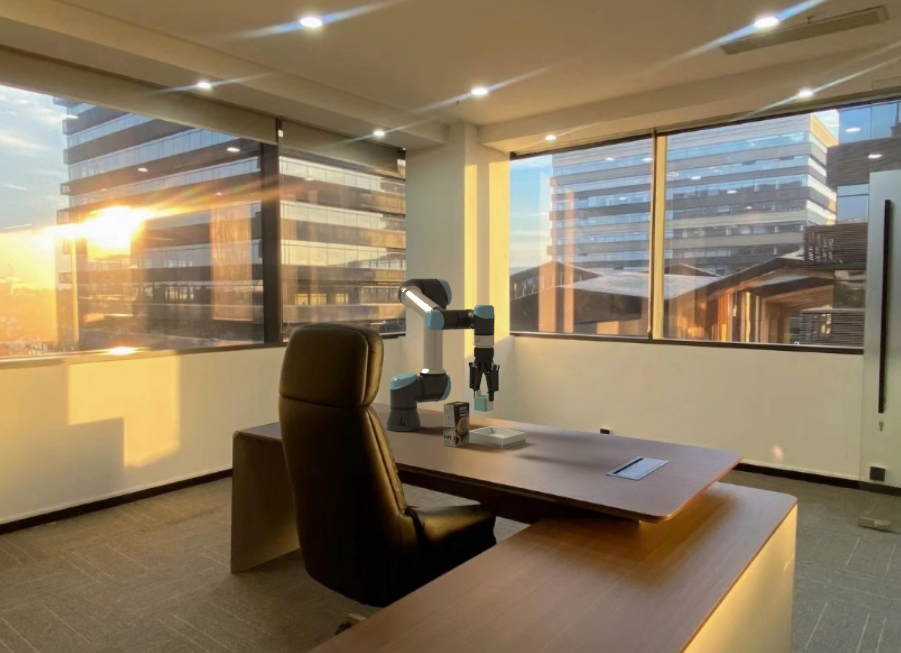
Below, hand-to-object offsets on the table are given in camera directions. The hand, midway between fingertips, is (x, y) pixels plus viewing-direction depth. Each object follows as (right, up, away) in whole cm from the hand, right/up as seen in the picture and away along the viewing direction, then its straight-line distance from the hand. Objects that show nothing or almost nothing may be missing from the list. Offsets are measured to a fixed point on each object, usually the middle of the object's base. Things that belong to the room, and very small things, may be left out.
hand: (483, 408), depth 233 cm
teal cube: (0, 0, 0) cm, 0 cm away
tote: (+6, -15, +14) cm, 21 cm away
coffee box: (-10, -15, +10) cm, 21 cm away
